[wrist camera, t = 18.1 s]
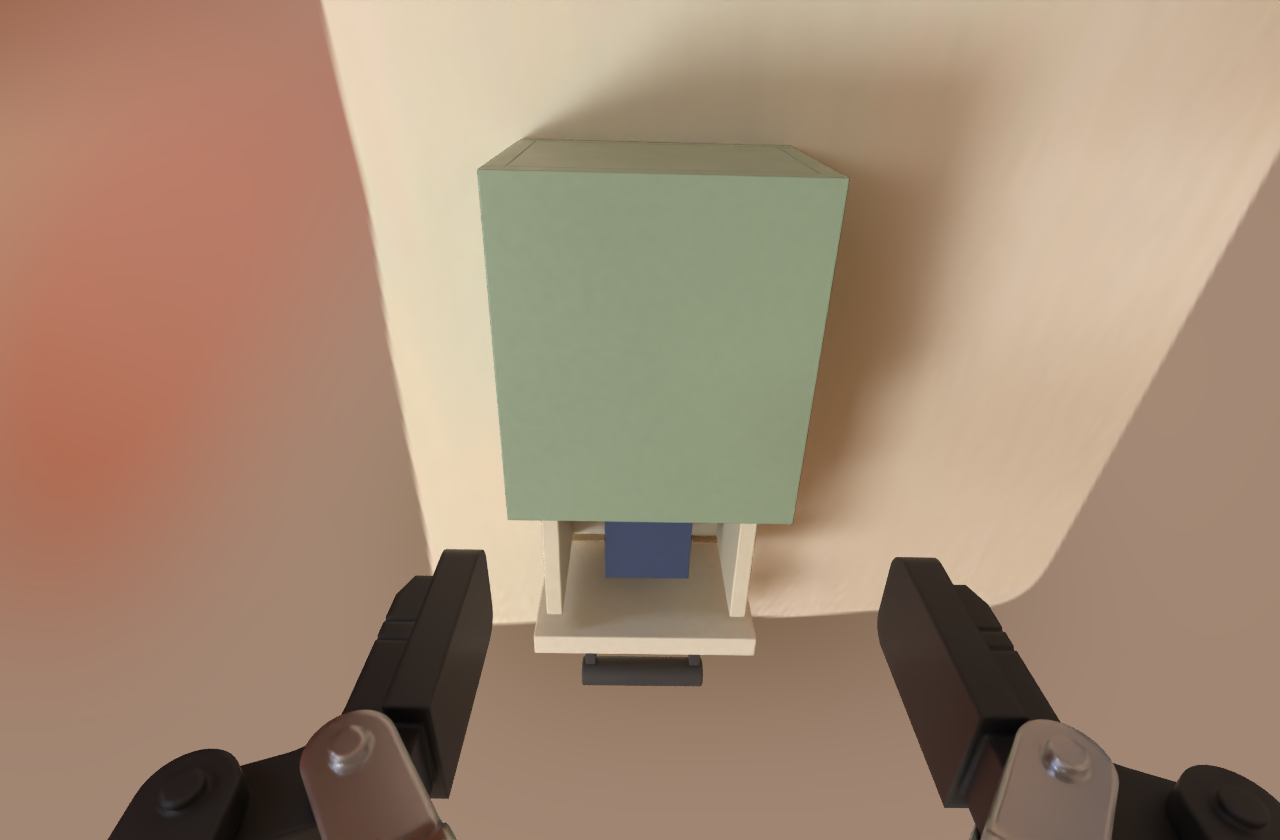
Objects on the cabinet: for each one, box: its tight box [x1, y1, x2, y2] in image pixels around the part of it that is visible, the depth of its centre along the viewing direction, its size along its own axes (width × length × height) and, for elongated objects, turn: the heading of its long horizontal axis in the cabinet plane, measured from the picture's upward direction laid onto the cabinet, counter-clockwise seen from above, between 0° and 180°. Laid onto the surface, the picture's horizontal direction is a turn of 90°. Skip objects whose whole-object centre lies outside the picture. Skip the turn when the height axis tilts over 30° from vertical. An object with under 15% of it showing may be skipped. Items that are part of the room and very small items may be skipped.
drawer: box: [534, 520, 757, 686], centre depth 36 cm, size 19×11×8 cm, turn 179°
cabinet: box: [477, 139, 850, 524], centre depth 30 cm, size 15×13×10 cm
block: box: [605, 521, 692, 579], centre depth 36 cm, size 4×4×4 cm
